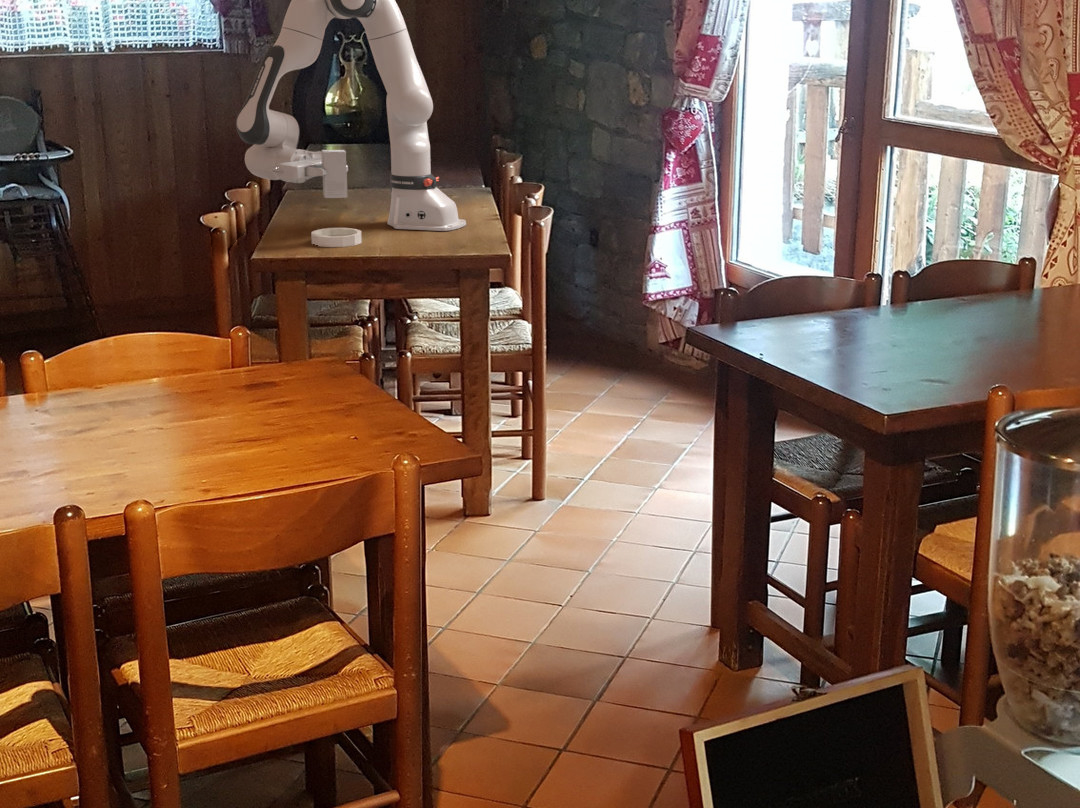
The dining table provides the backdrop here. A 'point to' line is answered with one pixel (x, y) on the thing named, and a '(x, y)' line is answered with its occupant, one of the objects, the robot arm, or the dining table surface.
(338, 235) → the ring dish
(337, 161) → the skincare box
